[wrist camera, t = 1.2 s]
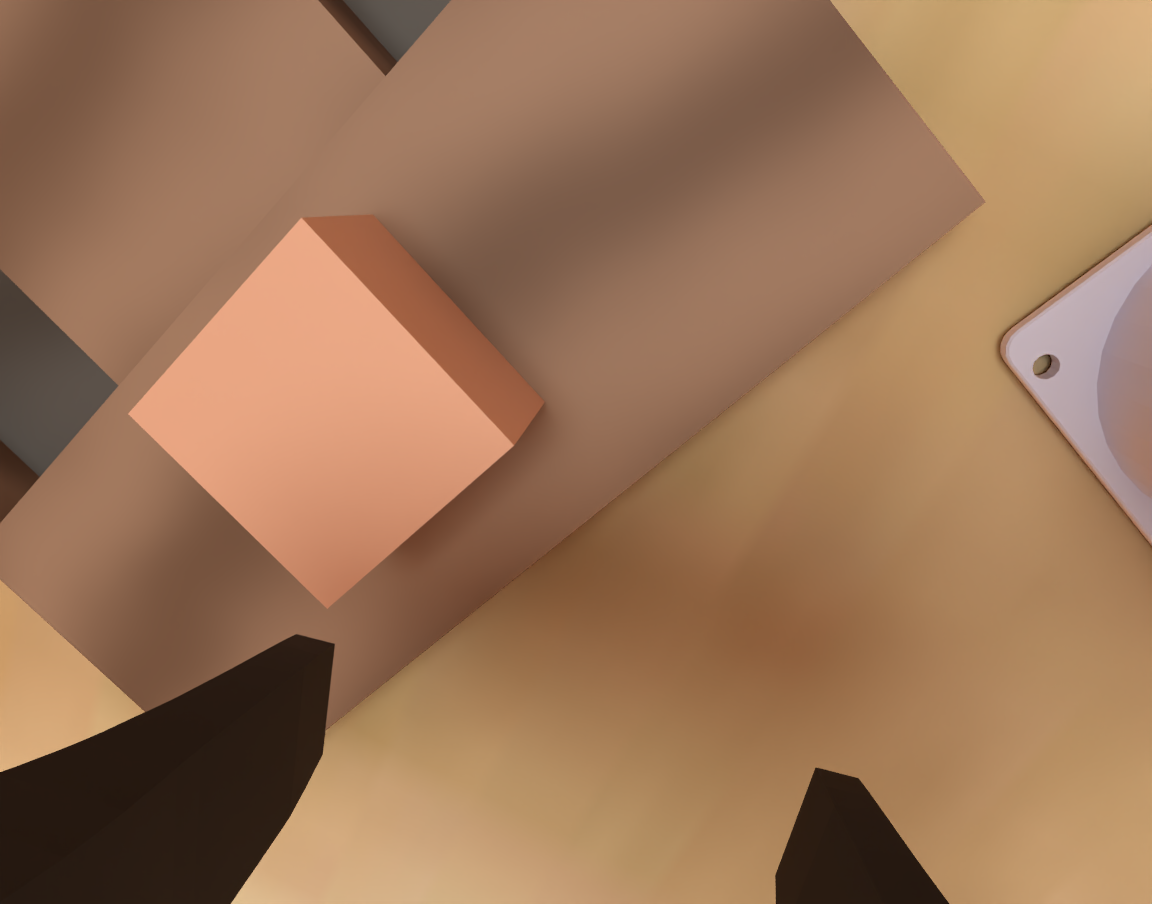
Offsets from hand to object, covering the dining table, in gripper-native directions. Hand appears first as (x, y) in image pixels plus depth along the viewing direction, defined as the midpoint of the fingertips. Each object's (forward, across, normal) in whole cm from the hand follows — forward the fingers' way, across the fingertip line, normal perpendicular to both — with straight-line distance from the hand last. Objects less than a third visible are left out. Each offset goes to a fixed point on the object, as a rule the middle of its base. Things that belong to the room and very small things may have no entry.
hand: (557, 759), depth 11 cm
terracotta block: (+6, +5, -3) cm, 9 cm away
